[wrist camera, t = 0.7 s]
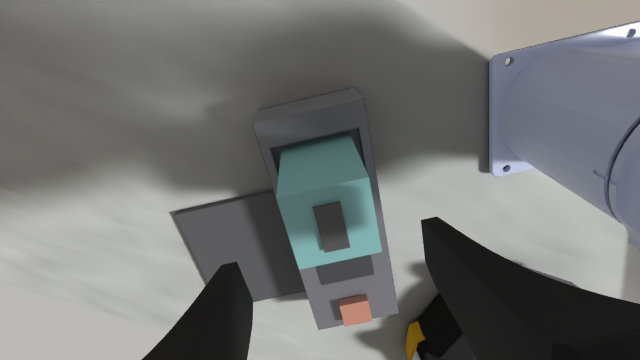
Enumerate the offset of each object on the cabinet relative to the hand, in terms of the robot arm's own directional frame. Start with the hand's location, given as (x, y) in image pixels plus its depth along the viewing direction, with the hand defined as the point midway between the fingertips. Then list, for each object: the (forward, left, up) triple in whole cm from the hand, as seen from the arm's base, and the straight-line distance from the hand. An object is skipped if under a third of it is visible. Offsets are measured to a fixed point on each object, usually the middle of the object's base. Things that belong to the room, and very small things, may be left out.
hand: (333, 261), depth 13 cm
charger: (0, 0, -8) cm, 8 cm away
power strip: (0, +4, -10) cm, 11 cm away
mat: (+7, +6, -10) cm, 14 cm away
